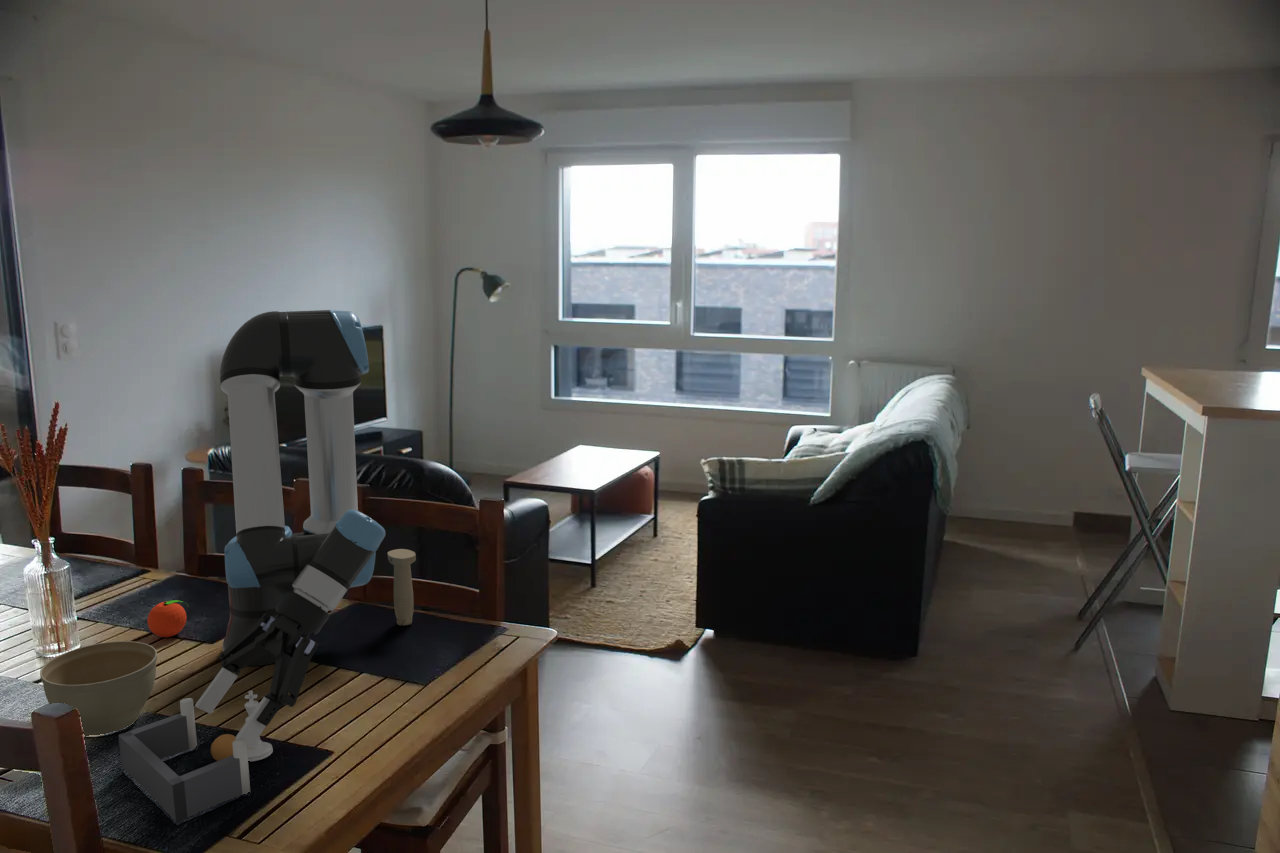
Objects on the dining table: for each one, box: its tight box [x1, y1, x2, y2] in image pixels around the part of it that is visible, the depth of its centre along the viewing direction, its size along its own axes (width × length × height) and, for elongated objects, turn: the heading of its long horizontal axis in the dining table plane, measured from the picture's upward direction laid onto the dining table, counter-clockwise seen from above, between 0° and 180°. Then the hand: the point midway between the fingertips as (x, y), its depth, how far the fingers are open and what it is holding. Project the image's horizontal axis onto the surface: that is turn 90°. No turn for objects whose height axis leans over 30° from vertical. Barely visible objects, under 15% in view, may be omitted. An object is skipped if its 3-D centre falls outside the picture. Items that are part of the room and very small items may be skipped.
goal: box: [118, 697, 251, 822], centre depth 133 cm, size 10×19×8 cm, turn 48°
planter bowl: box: [39, 640, 158, 738], centre depth 148 cm, size 16×16×11 cm
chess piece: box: [244, 690, 274, 762], centre depth 140 cm, size 5×5×10 cm
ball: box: [210, 733, 237, 762], centre depth 139 cm, size 4×4×4 cm
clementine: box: [146, 599, 190, 638], centre depth 183 cm, size 8×7×7 cm
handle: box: [387, 548, 417, 627], centre depth 189 cm, size 5×6×15 cm
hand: (222, 725), depth 136 cm, fingers open, 13 cm apart
